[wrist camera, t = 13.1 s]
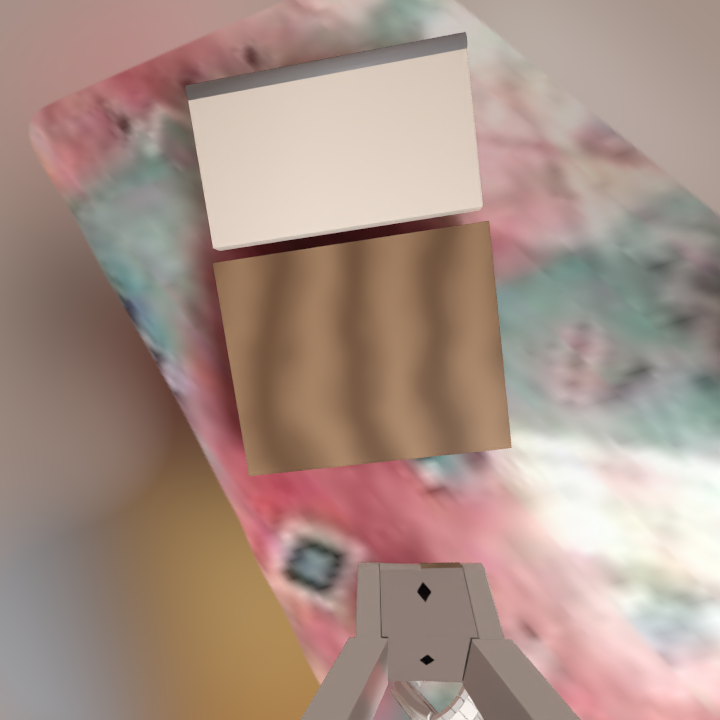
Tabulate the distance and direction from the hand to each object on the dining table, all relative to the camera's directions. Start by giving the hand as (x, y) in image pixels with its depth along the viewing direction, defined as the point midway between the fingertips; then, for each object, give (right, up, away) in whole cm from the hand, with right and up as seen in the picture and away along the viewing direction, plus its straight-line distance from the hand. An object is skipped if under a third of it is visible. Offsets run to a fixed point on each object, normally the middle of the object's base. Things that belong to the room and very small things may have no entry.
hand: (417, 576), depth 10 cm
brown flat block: (-1, +6, +26) cm, 27 cm away
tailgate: (-3, +16, +21) cm, 26 cm away
